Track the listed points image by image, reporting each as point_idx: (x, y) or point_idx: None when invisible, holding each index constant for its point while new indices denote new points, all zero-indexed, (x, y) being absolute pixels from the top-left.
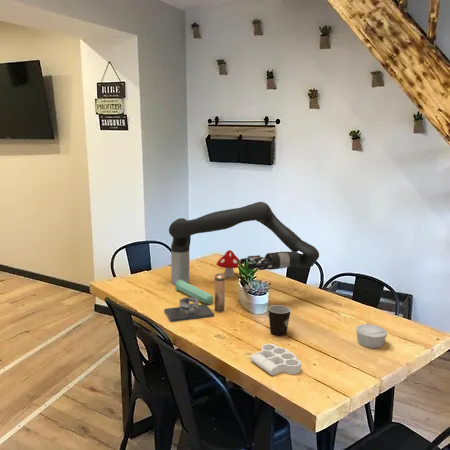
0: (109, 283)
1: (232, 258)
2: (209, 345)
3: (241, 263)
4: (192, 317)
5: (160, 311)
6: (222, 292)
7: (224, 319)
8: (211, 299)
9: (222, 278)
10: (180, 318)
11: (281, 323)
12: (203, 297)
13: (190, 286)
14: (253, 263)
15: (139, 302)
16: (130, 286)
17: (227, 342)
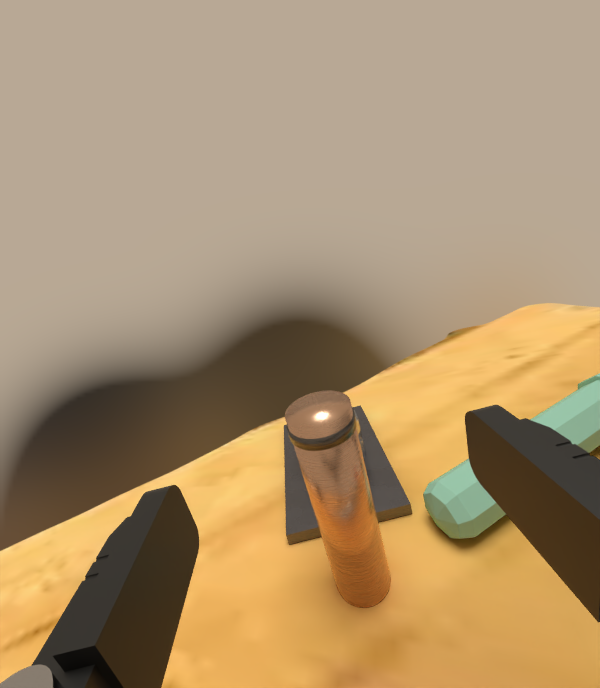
0: (550, 313)
1: None
2: (98, 519)
3: (477, 475)
4: (285, 468)
5: (363, 406)
6: (311, 503)
7: (243, 590)
8: (442, 519)
9: (287, 427)
10: (284, 442)
11: None
12: (438, 478)
13: (547, 416)
14: (117, 582)
15: (426, 369)
16: (551, 335)
17: (63, 575)
